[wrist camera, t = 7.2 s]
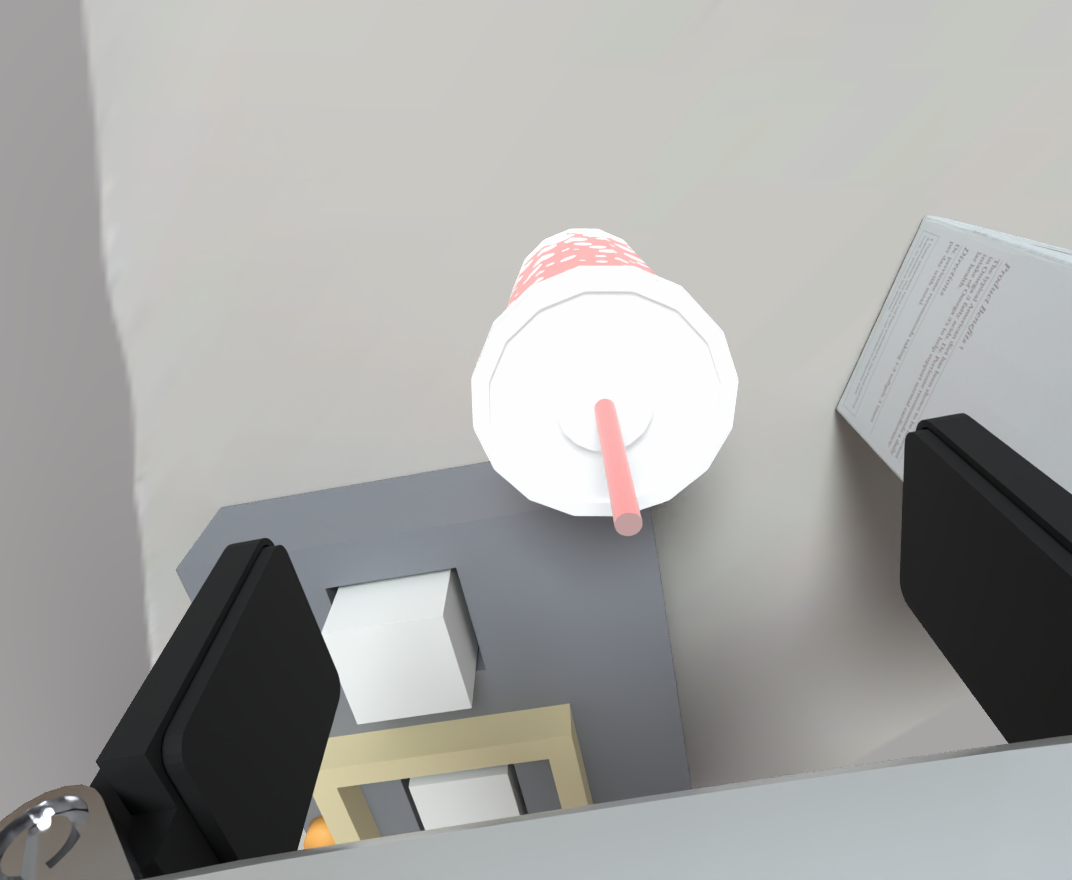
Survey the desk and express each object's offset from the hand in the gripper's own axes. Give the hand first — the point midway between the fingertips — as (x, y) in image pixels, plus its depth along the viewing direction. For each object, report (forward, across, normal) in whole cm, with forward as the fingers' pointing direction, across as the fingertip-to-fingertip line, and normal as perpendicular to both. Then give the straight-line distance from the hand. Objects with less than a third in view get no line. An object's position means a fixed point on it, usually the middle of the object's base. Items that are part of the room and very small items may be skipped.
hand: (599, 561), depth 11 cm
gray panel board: (+15, +6, +14) cm, 22 cm away
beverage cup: (+16, -1, 0) cm, 16 cm away
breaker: (+13, +7, +10) cm, 18 cm away
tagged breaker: (+15, +7, +19) cm, 26 cm away
